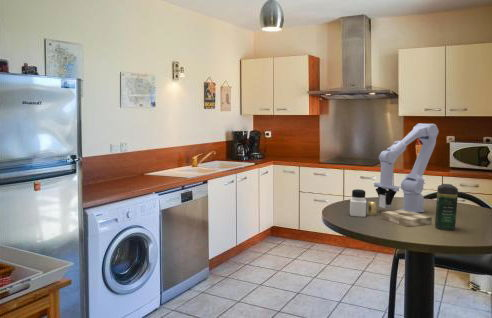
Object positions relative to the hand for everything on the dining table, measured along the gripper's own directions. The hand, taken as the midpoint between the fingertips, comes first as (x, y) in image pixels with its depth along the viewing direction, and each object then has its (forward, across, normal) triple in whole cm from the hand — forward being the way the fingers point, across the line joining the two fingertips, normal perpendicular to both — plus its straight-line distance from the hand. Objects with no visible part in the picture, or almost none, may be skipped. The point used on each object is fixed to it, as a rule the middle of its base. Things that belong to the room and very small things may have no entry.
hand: (385, 203), depth 212 cm
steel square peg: (+2, 0, 0) cm, 2 cm away
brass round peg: (+4, 0, -8) cm, 9 cm away
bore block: (+4, +16, -3) cm, 17 cm away
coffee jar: (+5, +31, +4) cm, 32 cm away
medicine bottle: (+5, -2, -15) cm, 16 cm away
